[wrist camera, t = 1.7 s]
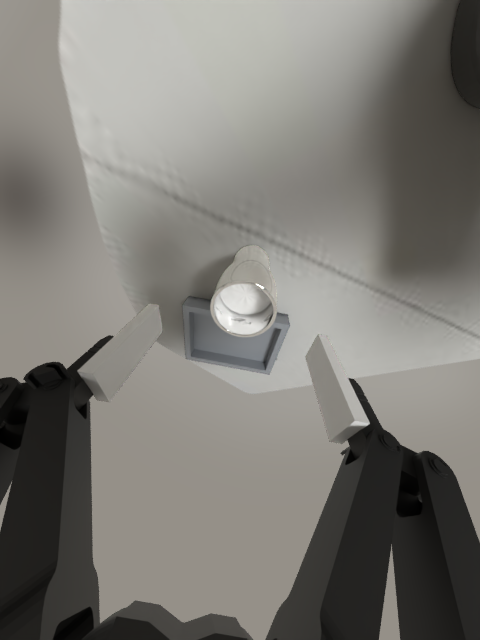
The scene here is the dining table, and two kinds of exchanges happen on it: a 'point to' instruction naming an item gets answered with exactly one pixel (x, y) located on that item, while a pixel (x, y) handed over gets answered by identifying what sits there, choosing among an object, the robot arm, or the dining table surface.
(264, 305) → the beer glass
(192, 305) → the tray
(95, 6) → the dining table surface
